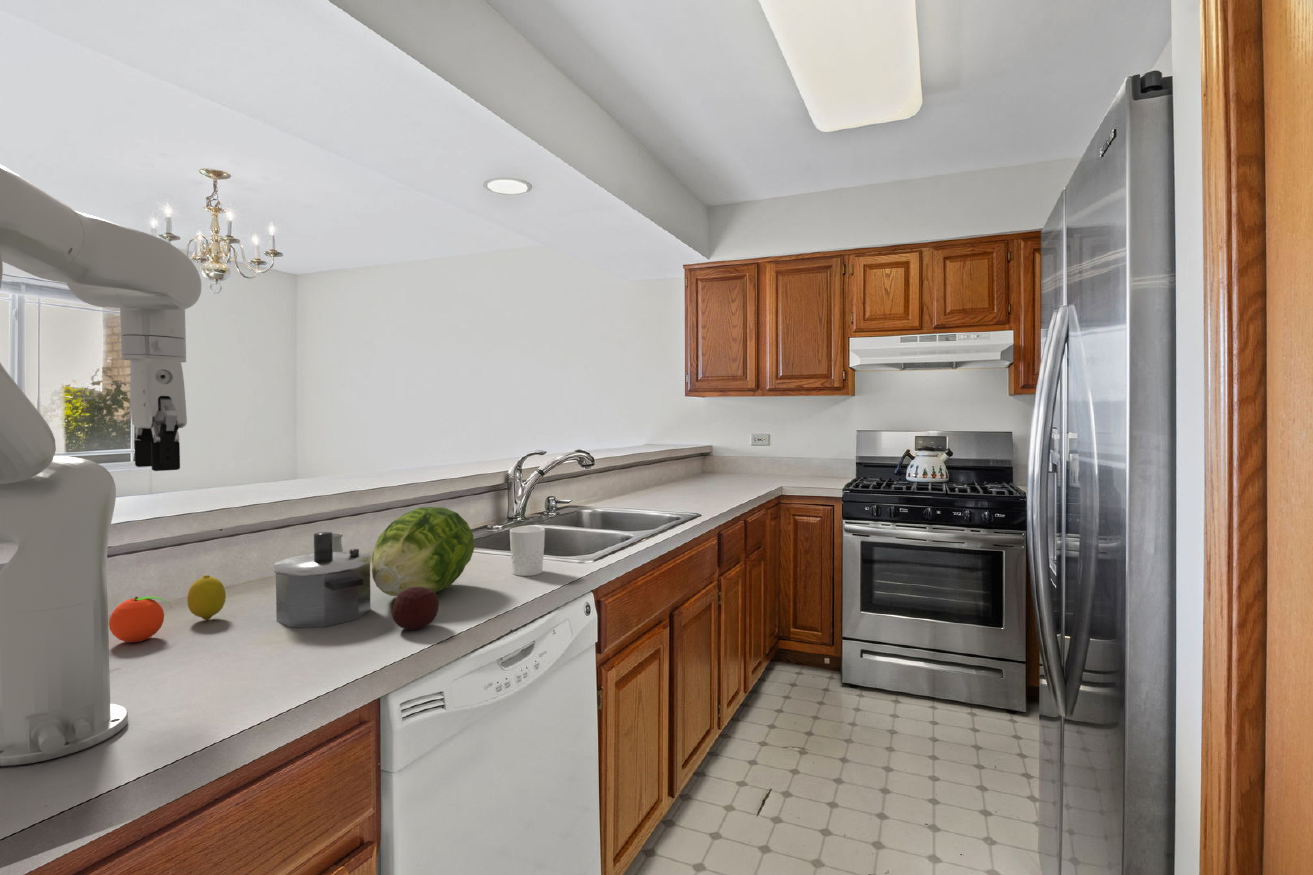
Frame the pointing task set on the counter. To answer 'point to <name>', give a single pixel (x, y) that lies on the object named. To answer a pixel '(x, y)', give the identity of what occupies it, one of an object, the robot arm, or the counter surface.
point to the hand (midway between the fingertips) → (157, 468)
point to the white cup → (527, 550)
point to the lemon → (206, 597)
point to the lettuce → (422, 551)
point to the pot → (322, 598)
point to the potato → (415, 608)
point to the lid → (322, 560)
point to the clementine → (137, 619)
